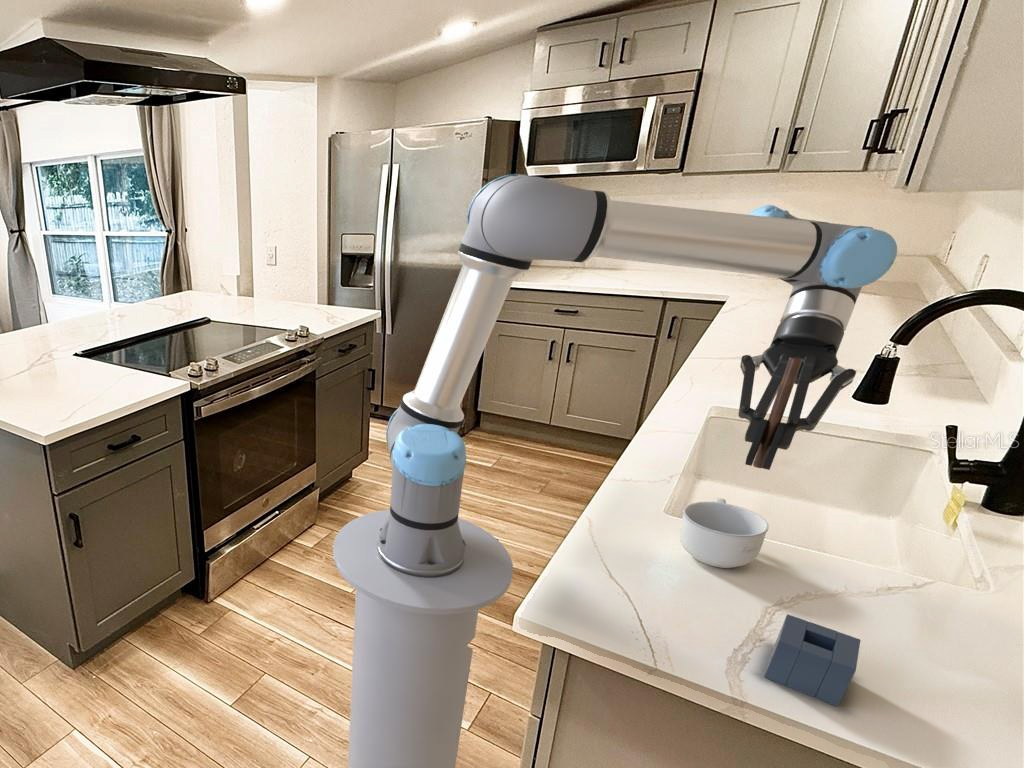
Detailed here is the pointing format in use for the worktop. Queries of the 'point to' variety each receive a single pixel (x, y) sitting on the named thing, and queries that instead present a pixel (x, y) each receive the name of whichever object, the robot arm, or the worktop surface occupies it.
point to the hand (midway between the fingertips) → (758, 463)
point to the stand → (813, 659)
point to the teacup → (722, 533)
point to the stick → (778, 409)
